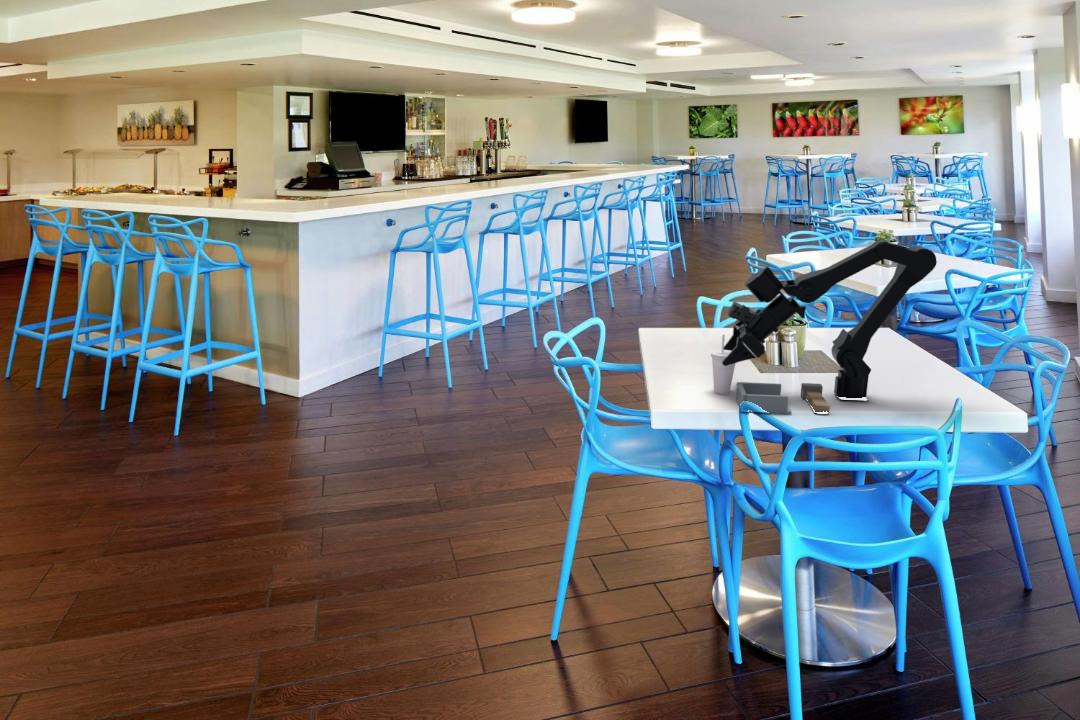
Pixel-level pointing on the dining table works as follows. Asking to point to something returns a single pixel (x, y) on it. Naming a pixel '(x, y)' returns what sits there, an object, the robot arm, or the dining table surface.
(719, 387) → the smoothie
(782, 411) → the endcap cradle
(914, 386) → the dining table surface
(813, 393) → the capped slat
